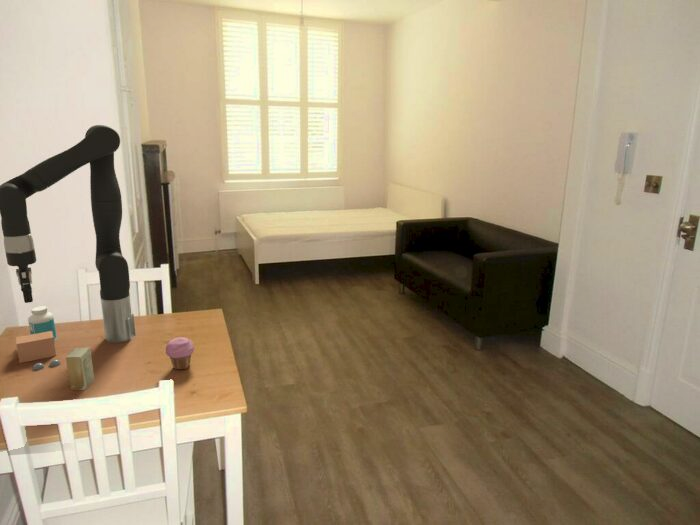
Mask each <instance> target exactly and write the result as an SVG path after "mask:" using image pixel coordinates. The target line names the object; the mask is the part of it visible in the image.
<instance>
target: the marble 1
mask: <svg viewBox="0 0 700 525" xmlns="http://www.w3.org/2000/svg"><path fill="white" fill-rule="evenodd" d="M44 368H45V365H44V363H42V362H36V363H35V364H33V366H32V370H33V371H40V370H43V369H44Z"/></svg>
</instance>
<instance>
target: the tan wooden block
mask: <svg viewBox="0 0 700 525" xmlns="http://www.w3.org/2000/svg"><path fill="white" fill-rule="evenodd" d="M15 339H16V340H15V343H16V344H15V345H16V350H17V356H18V360H19V361H18V362H19V364H20V363H26V362H32V361H37V360H41V359H46V358H51V357H56V356H57V351H56V347H55V341H54V338H53V333H52V331H48V332H43V333H37V334H32V335H31V334H28V335H22V336H21V335H20V336H16V337H15Z"/></svg>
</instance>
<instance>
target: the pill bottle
mask: <svg viewBox="0 0 700 525" xmlns="http://www.w3.org/2000/svg"><path fill="white" fill-rule="evenodd" d="M27 321H28V327H29V335H32V334H37V333H43V332H48V331H52V333H53V338H54V342H55V341H57V331H56V323H55V317H54V315H53V313H51V312H50V311H49V309H48V306H45V305H41V306H35V307H33V308H31V315H29V316H28V319H27Z"/></svg>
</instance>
